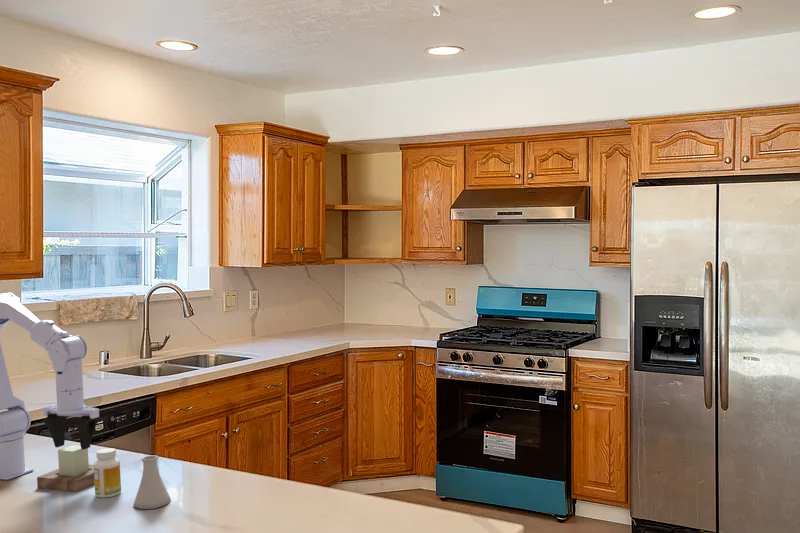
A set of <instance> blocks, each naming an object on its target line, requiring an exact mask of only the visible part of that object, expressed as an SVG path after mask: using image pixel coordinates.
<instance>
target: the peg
mask: <svg viewBox="0 0 800 533" xmlns="http://www.w3.org/2000/svg"><path fill="white" fill-rule="evenodd" d="M57 457H58V459H57V460H58V469H59V475H64V476H77V475H79V474H82V473H84V472H87V471H89V465H90V463H89V462H90V461H89V448H87V449H81V445H77V444H75V445H74V444H72V445H69V446H66V447H63V448H60V449H58V450H57Z"/></svg>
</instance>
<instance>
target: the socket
mask: <svg viewBox="0 0 800 533" xmlns="http://www.w3.org/2000/svg"><path fill="white" fill-rule="evenodd" d="M36 482H37V483H36V484H37V489H45V490H56V491H65V492H66V491H67V492H79V491H81V490H83V489H85V487H86V488H88V487H90V486H92V485H95V484H94V464H89V471H87V472H84V473H82V474H79V475H77V476H64V475H59V468H57V469H53V470H52V471H49V472H47V473H44V474H42V475H39V476H37V477H36ZM91 484H92V485H91ZM89 485H90V486H89ZM87 486H88V487H87Z"/></svg>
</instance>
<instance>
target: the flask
mask: <svg viewBox="0 0 800 533" xmlns="http://www.w3.org/2000/svg"><path fill="white" fill-rule="evenodd" d="M158 460H159V455H154V454H153V455H146V456H143V457H142V458H141V462H142V463H143V470H142V476H141V480H140V483H139V487H138V489H137V492H136V496H135V499H134V502H133V505H132V507H134V508H137V509H140V510H147V509H148V510H149V509H153V510H154V509H157V508H160V507H164V506H166V505H168V504H169V502H170V501H171V500H172V499H171V497H170V494H169V492H168V491H167V490H168V489H167V488H166V486H165V484H164V481H163V479H162V477H161V473H160V471H159V467H158Z"/></svg>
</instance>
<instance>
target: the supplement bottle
mask: <svg viewBox="0 0 800 533" xmlns="http://www.w3.org/2000/svg"><path fill="white" fill-rule="evenodd" d="M116 450H117V449H116V448H112V447H110V448H108V447H107V448H102V449H98V450H97V451H96V459H97V460H95V461H94V463H93V465H94V483H95V484H94V496H95V497H97V498H99V497H100V499H101V498H103V499H105V498H113V497H115V496H118V495H120V494H121V492H122V481H121V479H122V478H121V463H120V459H118V458H116V456H117V451H116Z"/></svg>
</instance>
